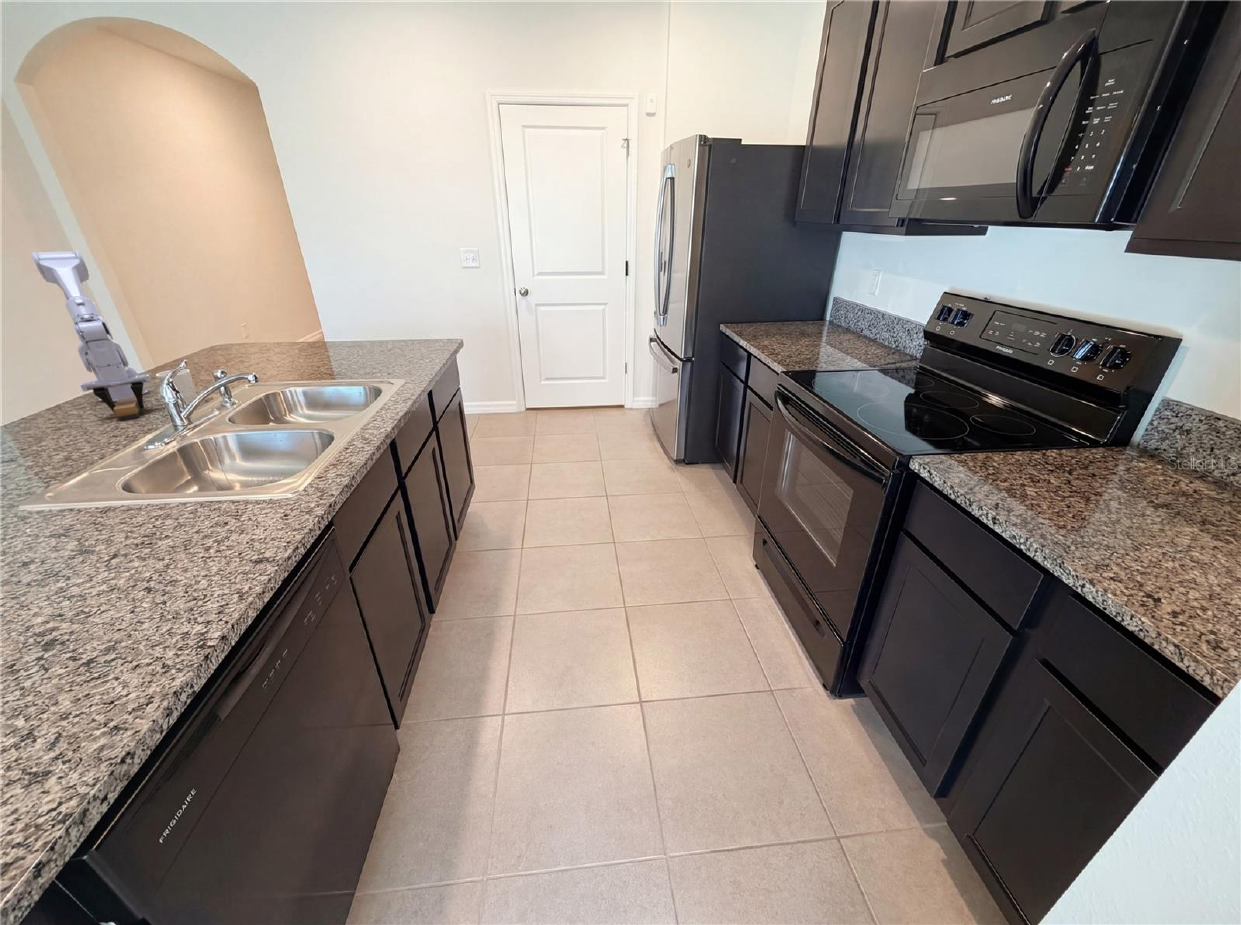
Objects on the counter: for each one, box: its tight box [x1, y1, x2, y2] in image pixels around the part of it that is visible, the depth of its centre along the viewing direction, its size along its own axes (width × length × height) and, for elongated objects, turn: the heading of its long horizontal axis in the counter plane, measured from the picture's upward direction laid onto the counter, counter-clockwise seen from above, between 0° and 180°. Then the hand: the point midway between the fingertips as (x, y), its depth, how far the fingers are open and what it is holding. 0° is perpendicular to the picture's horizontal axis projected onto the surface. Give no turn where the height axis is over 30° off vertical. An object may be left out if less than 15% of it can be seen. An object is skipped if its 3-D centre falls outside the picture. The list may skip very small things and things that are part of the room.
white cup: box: [155, 368, 198, 403], centre depth 155 cm, size 8×8×10 cm
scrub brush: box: [113, 397, 142, 422], centre depth 148 cm, size 11×4×4 cm, turn 37°
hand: (129, 409), depth 148 cm, fingers open, 5 cm apart
